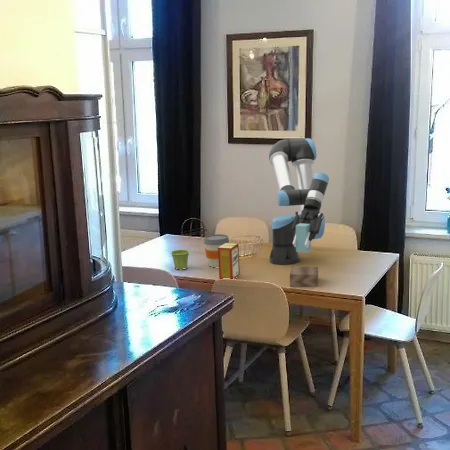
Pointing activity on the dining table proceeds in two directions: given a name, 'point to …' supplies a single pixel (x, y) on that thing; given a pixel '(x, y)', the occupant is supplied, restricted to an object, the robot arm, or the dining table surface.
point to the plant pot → (180, 258)
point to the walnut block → (304, 277)
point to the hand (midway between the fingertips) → (300, 245)
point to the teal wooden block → (302, 237)
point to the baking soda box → (228, 260)
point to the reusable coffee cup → (214, 247)
